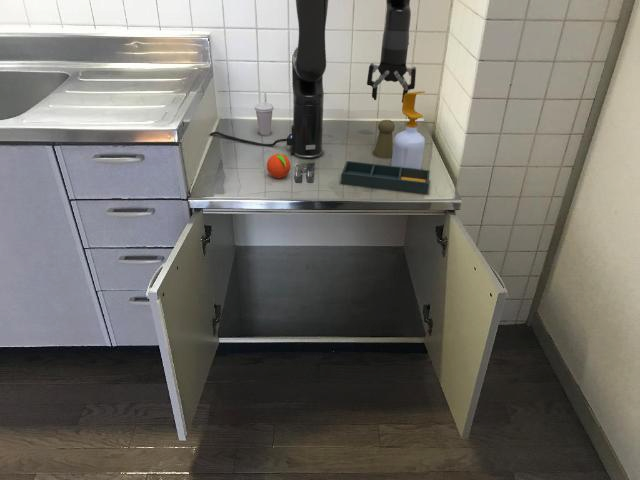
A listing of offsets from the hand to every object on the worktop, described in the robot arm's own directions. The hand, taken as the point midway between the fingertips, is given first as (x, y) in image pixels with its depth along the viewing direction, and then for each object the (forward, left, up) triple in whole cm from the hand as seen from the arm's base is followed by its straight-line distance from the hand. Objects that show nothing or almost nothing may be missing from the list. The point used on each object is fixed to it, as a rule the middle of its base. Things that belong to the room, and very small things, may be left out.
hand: (389, 100), depth 154 cm
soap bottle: (+8, -11, -18) cm, 22 cm away
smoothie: (-42, +6, -18) cm, 46 cm away
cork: (0, 0, -18) cm, 18 cm away
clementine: (-28, -25, -18) cm, 42 cm away
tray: (+2, -20, -18) cm, 27 cm away
